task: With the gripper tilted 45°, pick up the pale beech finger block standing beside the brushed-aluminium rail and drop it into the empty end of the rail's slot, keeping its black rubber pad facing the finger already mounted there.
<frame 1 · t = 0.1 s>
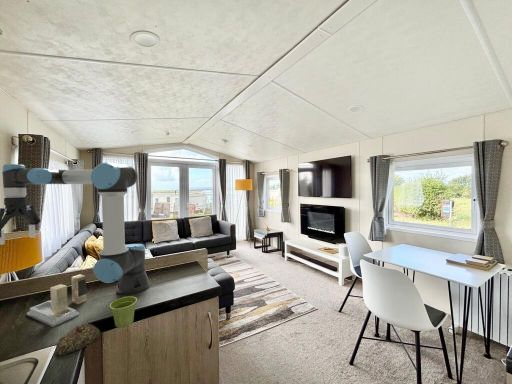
hand: (17, 240, 109), 28 cm above the counter, tool pointing down, fingers open, 13 cm apart
beech finger: (79, 301, 107), on the counter
plant pot: (124, 324, 90), on the counter
bread roll: (78, 341, 80), on the counter
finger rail: (53, 314, 96), on the counter
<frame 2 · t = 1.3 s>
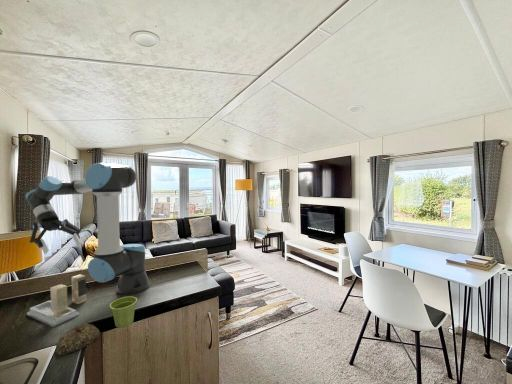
hand: (64, 248, 110), 24 cm above the counter, tool tilted 45°, fingers open, 13 cm apart
nothing on the counter moved.
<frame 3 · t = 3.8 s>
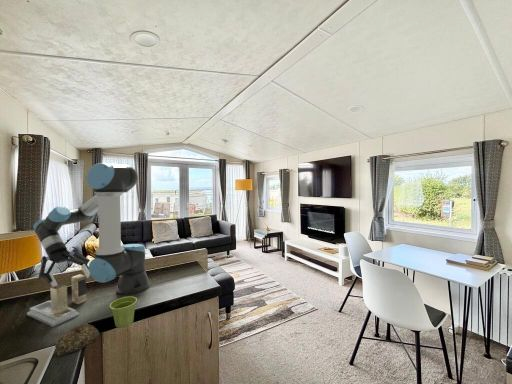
hand: (73, 281, 107), 9 cm above the counter, tool tilted 45°, fingers open, 13 cm apart
nothing on the counter moved.
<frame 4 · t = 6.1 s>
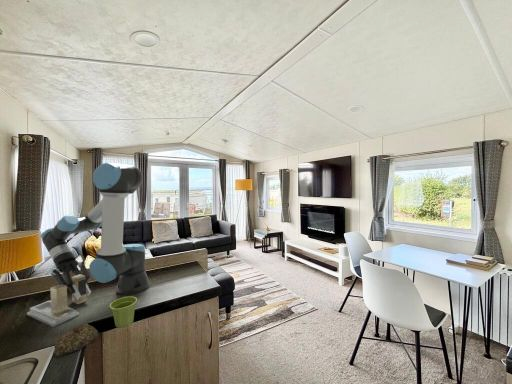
hand: (84, 295, 105), 3 cm above the counter, tool tilted 45°, fingers closed on beech finger, 3 cm apart
beech finger: (79, 301, 107), on the counter, touching gripper
everything else where it was.
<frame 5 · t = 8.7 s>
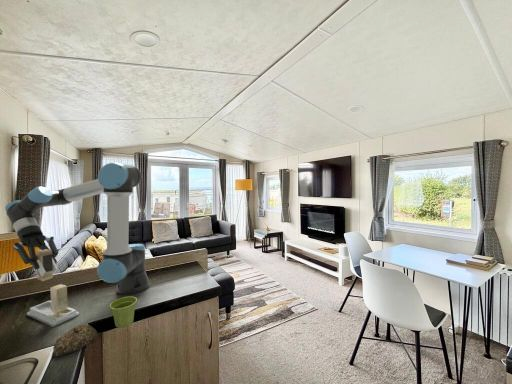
hand: (49, 272, 96), 18 cm above the counter, tool tilted 45°, fingers closed on beech finger, 3 cm apart
beech finger: (45, 278, 97), point 15 cm above the counter, touching gripper
everything else where it was.
when the fingers open (6 cm above the counter, at t = 11.1 s): beech finger drops 1 cm, resting on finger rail.
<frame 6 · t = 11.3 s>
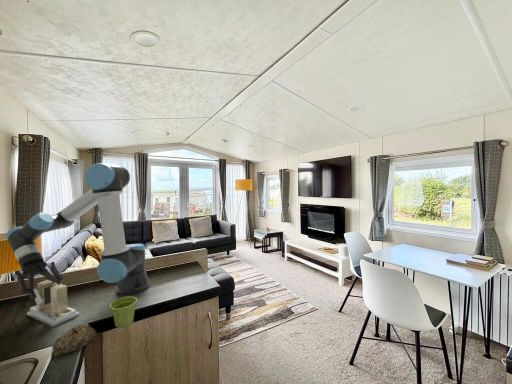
hand: (50, 299, 96), 6 cm above the counter, tool tilted 45°, fingers open, 6 cm apart
beech finger: (46, 309, 98), point 1 cm above the counter, touching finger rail
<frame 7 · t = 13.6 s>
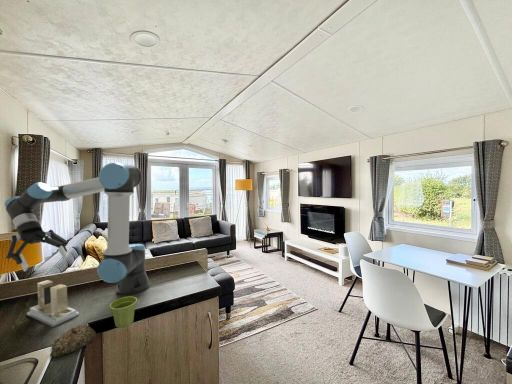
hand: (47, 263, 96), 22 cm above the counter, tool tilted 45°, fingers open, 13 cm apart
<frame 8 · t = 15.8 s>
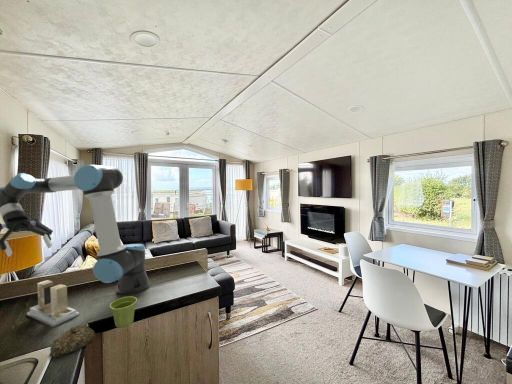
hand: (31, 250, 101), 26 cm above the counter, tool tilted 45°, fingers open, 13 cm apart
at the end: beech finger 0.1 cm from the target spot on the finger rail, point 1.0 cm above the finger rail's base; beech finger tilted 0°; the gripper is holding nothing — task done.
